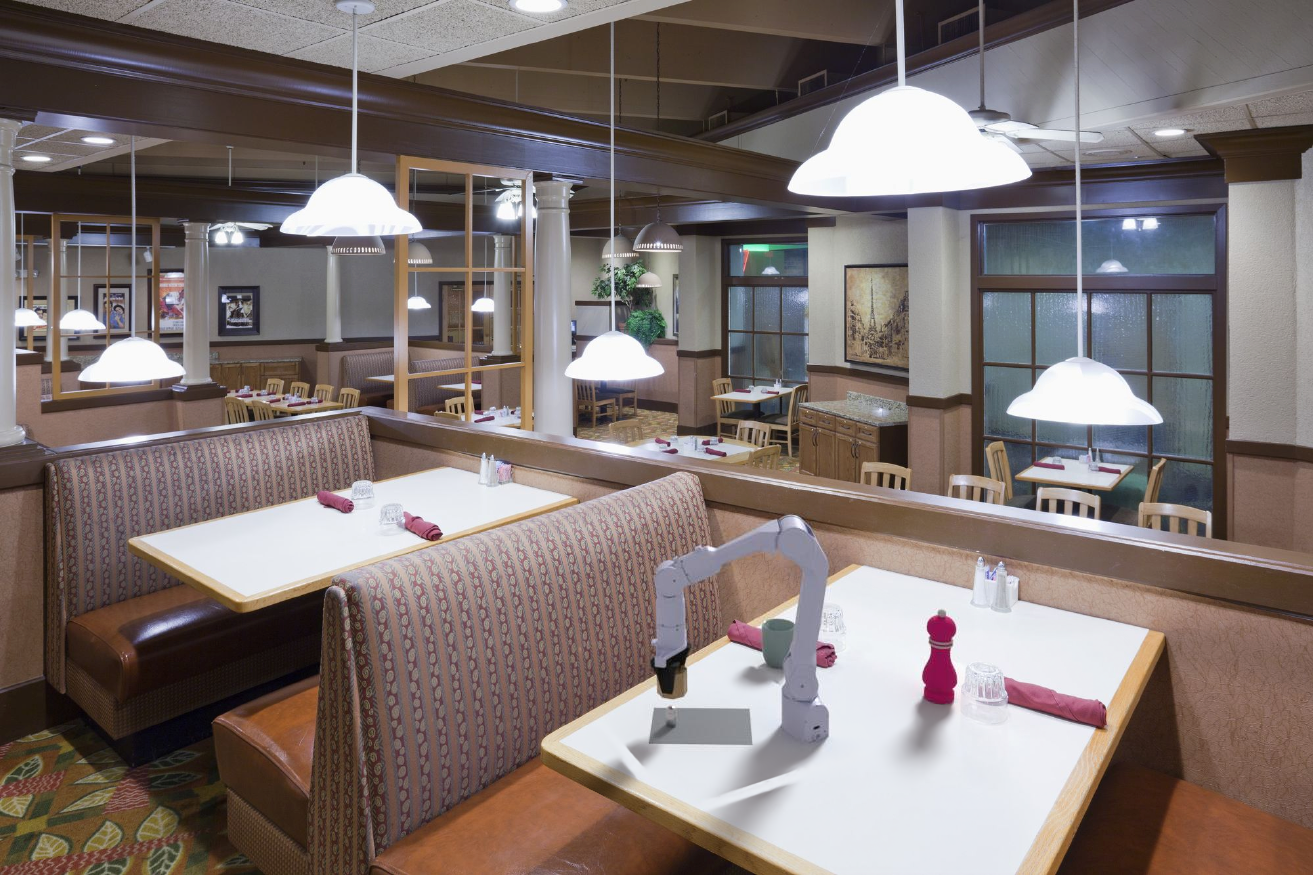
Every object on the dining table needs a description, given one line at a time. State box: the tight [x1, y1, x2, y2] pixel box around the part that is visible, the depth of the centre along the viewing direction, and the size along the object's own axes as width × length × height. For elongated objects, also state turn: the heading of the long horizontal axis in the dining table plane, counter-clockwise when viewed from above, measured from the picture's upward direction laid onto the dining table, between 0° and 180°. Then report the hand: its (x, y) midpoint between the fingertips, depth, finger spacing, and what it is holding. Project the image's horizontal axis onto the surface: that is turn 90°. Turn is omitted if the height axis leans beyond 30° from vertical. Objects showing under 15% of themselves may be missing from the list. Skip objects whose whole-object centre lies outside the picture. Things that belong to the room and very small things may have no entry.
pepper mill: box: [921, 608, 958, 705], centre depth 179 cm, size 7×7×20 cm
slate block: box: [648, 707, 753, 746], centre depth 169 cm, size 20×14×2 cm
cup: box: [761, 618, 795, 669], centre depth 198 cm, size 8×8×10 cm
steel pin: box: [665, 705, 677, 728], centre depth 169 cm, size 2×2×4 cm
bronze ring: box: [656, 664, 688, 700], centre depth 168 cm, size 6×6×5 cm
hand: (672, 685), depth 168 cm, fingers closed on bronze ring, 6 cm apart
